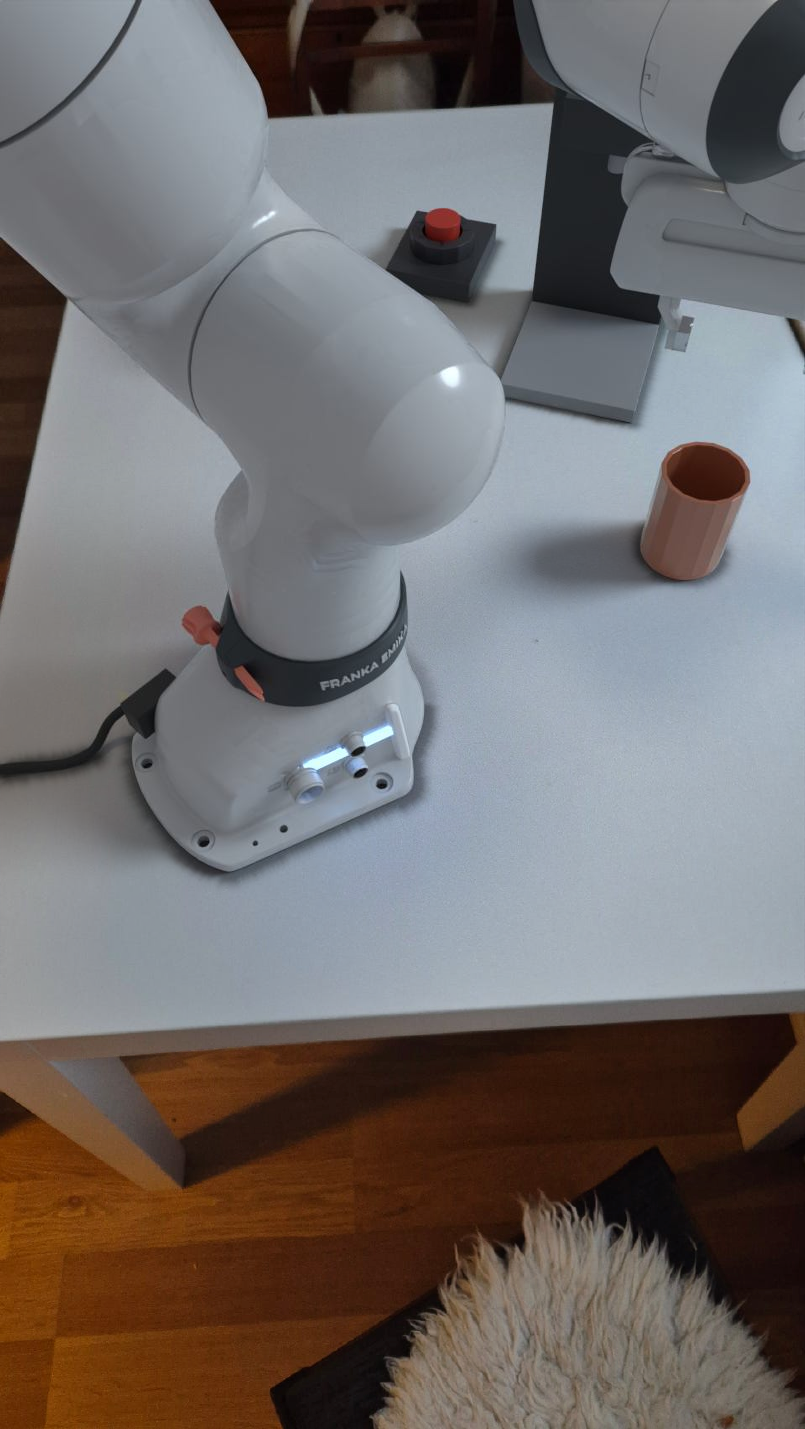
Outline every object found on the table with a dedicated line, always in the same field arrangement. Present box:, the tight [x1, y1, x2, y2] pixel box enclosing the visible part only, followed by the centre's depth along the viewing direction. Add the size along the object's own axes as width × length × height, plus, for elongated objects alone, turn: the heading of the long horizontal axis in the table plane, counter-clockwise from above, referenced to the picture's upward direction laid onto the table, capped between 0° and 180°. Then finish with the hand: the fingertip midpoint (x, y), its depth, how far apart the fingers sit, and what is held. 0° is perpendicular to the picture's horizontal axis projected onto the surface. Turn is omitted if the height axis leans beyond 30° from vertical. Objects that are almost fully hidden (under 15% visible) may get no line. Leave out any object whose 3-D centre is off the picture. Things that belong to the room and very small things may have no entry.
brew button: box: [425, 207, 460, 242], centre depth 104 cm, size 4×4×2 cm
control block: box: [385, 210, 498, 304], centre depth 106 cm, size 11×9×4 cm
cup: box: [639, 441, 751, 581], centre depth 82 cm, size 7×7×9 cm
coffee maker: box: [500, 86, 663, 424], centre depth 90 cm, size 17×13×23 cm
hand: (744, 358), depth 70 cm, fingers open, 8 cm apart
